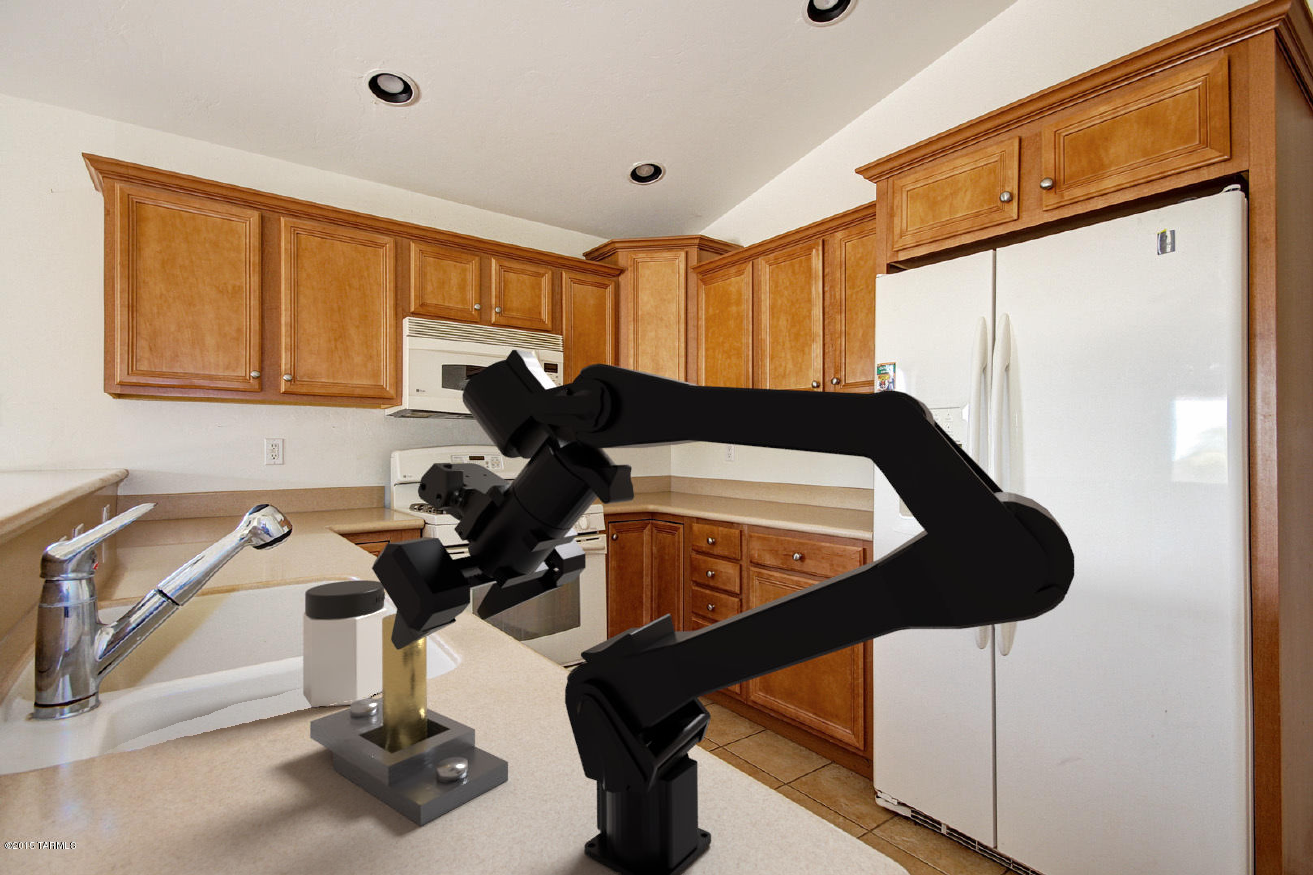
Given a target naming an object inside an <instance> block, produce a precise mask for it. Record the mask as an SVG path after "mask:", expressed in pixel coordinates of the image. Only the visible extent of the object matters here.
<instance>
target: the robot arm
mask: <svg viewBox="0 0 1313 875" xmlns="http://www.w3.org/2000/svg"><path fill="white" fill-rule="evenodd" d="M462 402H463V404H464V406H465V408H466V409H467V410H468V412H469V413H470V414H471V416H472V417H473V418H474V420H476V422H477V424H478V425H479V427H481V428H482V430H483V432H485V434H486V436H488V438H489V439H490V441H491V442H492V444H494V446H495V448H497V450H498V451H499V453H501V455H502V456H504V458H508V459H516V458H522V459H525V460H528V459H529V460H528V461H527V463H525V465H524V466H523V468H522V469H521V471H519V473H518V474H517V476H515V478H514V479H513V481H512V482H511V483H510V481H508V480H506V479H505V478H503V477H501V476H499V475H498V474H497V473H495V472H493V471H492V470H490V469H488V468H487V467H485V466H484V465H481V464H477V463H473V462H465V463H463V462H462V463H451V462H435V463H433V464H432V465H431V466H430V467H429V468H428V469H427V470H426V471H425V472H424V474H422V476H421V478H420V482H419V485H418V489H417V493H418V497H419V499H421V500H422V501H423V502H425V504H428V505H429V506H430V507H432V508H433V509H435V510H443V511H444V512H445V513H447V514H448V515H449V516H451V517H453V518H454V519H455V520H457V521H459V522H458V523H457V525H456V526H455V527H454V528H453V530H454V531H455V533H456V535H457V536H459V539H460V540H461V541H467V543H468V544H469V545H468V546H467V552H468V554H469V555H466V556H464V557H463V556H462V557H458V558H453V557H452V555H450V553H449V551H448V549H446V547H445V546H444V544H443V542H441V540H440V538H439V537H428V536H426V537H425V536H424V537H423V536H422V537H419V538H412V539H406V540H400V541H393V542H388V543H386V545H385V546H384V548H383V549H382V551H381V552H380V553H379V554H378V556H377V557H376V558H375V560H374V562H373V564H372V567H371V569H372V571H373V573H374V574H375V576H376V578H377V579H378V580H379V581H378V582H381V584H382V585H383V587H384V591H385V593H387V595H388V597H389V599H390V600H391V601H392V603H393V605H394V606H395V608H396V611H395V612H396V613H395V614H396V617H395V622H394V626H393V631H392V636H391V641H392V643H393V644H394V646H395V648H396V649H397V650H399V649H402V648H404V647H406V646H408V645H411V644H413V643H415V642H417V641H419V640H421V639H423V638H424V637H426V636H427V637H428V636H431V635H432V634H434V633H437V632H439V631H440V630H442V629H444V628H446V627H448V626H450V625H452V624H454V623H456V622H457V619H456V618H457V617H458V616H459V615H461V614H462V613H463V612H464V611H465V610H466V609H467V607H469V605H470V604H471V591H472V590H474V589H479V588H482V587H485V586H489V585H491V586H490V587H489V589H488V591H487V592H486V594H485V595H484V597H483V598H482V601H481V603H480V604H479V606H478V608H477V609H476V613H477V615H478V617H479V618H480V619H481V620H482V621H486V620H488V619H490V618H493V617H495V616H497V615H499V614H501V613H503V612H506V611H508V610H511V609H513V608H515V607H517V606H520V605H522V604H525V603H527V602H529V601H531V600H533V599H536V598H538V597H540V596H543V595H546V594H547V593H550V592H552V591H554V590H558V589H559V588H562V587H563V585H565V584H569V583H571V582H575V580H576V579H578V577H579V576H580V575H581V573H582V572H584V570H585V569H586V552H585V551H584V549H583V548H582V547H581V546H580V544H579V543H578V542H577V541H576V539H575V538H576V537H577V536H578V535H579V534H578V532H576V530H575V529H574V526H575V525H576V523H577V522H578V521H579V520H580V519H581V517H582V516H583V515H584V514H585V513H586V512H587V511H588V509H590V507H591V506H592V505H593V504H594V502H595V501H596V500H597V499H599V501H601V503H603V504H604V505H610V504H618V503H627V502H632V501H633V500H634V498H635V492H634V485H633V482H632V476H631V475H632V466H631V464H617V463H615V461H614V460H613V459H612V458H611V457H610V456H609V454H608V453H607V452H606V450H604V449H645V448H647V449H648V448H657V447H665V446H666V447H667V446H676V445H684V444H691V443H698V442H699V443H700V442H701V443H702V442H704V443H711V444H712V443H713V444H725V445H734V446H735V445H736V446H746V447H757V448H766V449H777V450H785V451H786V450H787V451H797V452H809V453H817V454H818V453H820V454H830V455H840V456H841V455H842V456H849V457H850V456H851V457H863V458H866V459H870V460H871V461H872V463H874V465H875V466H876V467H877V468H878V469H879V471H880V472H881V473H882V474H883V476H884V477H885V479H887V481H888V483H889V484H890V485H891V487H892V488H893V489H894V491H895V493H896V494H897V495H898V497H899V498H900V499H901V501H902V503H904V506H906V508H907V509H908V510H909V512H910V513H911V515H912V516H913V518H914V519H915V520H916V521H917V523H918V524H919V525H920V526H921V527H922V529H923V531H921V532H919V533H918V534H916V535H914V536H913V537H911V538H910V539H909V540H906V541H905V542H904V543H902V544H900V545H899V546H898V547H896V548H895V549H893V550H892V551H890V552H889V553H887V554H885V555H883V556H882V557H881V558H878V559H876V560H874V561H871V562H868V563H866V564H864V565H861V566H859V567H856V568H853V569H851V570H848V571H846V572H843V573H841V574H838V575H836V576H833V577H831V578H828V579H825V580H823V581H819V582H817V583H816V584H812V585H809V586H808V587H805V588H802V589H799V590H797V591H794V592H792V593H790V594H789V593H788V594H787V595H784V596H782V597H779V598H776V599H774V600H771V601H768V602H766V603H763V604H761V605H759V606H756V607H754V608H751V609H749V610H745V611H743V612H741V613H738V614H735V615H733V616H730V617H728V618H726V619H723V620H721V621H717V622H715V623H713V624H710V625H708V626H704V627H702V628H700V629H697V630H691V631H685V630H683V631H676V630H675V626H674V623H673V619H672V615H671V613H666V614H665V615H663V616H661V617H659V618H657V619H655V620H653V621H650V622H649V623H647V624H645V625H643V626H641V627H631V628H629V629H627V630H625V631H623V632H621V633H619V634H617V635H615V636H612V637H610V638H608V639H606V640H604V641H602V642H600V643H598V644H596V645H594V646H592V647H589V648H588V649H586V650H584V651H582V652H581V653H580V657H581V658H582V659H583V660H584V661H583V662H582V663H580V664H578V665H577V666H575V667H574V668H573V669H572V670H571V671H570V672H569V673H568V675H567V676H566V680H567V682H566V685H565V688H564V696H565V697H564V704H565V709H566V711H567V712H566V713H567V716H568V720H569V724H570V728H571V730H572V734H573V735H572V736H573V737H574V742H575V745H576V748H577V752H578V755H579V759H580V763H581V766H582V769H583V772H584V773H583V774H584V776H585V777H586V778H587V779H589V780H592V781H596V828H597V830H598V831H599V833H598V834H596V835H594V837H592V838H591V839H590V840H588V841H587V842H585V844H584V847H583V848H584V855H586V856H588V857H589V858H591V859H592V860H595V861H597V862H598V863H600V864H602V865H604V866H606V867H607V868H609V869H611V870H613V871H615V872H617V873H619V874H621V875H678V874H680V873H681V872H682V871H683V870H684V869H685V868H686V867H687V866H688V865H689V864H690V863H692V861H693V860H695V859H696V858H697V857H698V856H699V855H700V854H701V853H702V852H703V851H704V850H706V848H708V847H709V846H710V845H711V844H712V834H711V832H709V831H707V830H705V829H703V828H701V827H699V788H698V787H699V786H698V785H699V784H698V782H699V780H698V778H699V777H698V776H699V774H698V773H699V772H698V771H699V770H698V764H699V763H698V761H697V760H696V759H693V758H690V755H689V751H690V750H692V748H694V747H695V746H696V745H697V744H699V743H701V742H702V741H704V739H705V738H706V737H705V736H706V733H707V730H708V728H709V725H710V722H711V719H712V718H711V713H710V712H709V710H708V709H707V707H706V706H704V704H703V703H702V702H701V700H700V699H699V698H700V697H703V696H706V695H708V694H713V693H715V692H718V691H721V690H724V689H728V688H730V687H733V686H736V685H739V684H742V683H746V682H748V681H750V680H751V681H752V680H754V679H756V678H760V677H763V676H766V675H770V674H772V673H775V672H778V671H781V670H784V669H787V668H791V667H794V666H795V665H799V664H802V663H805V662H808V661H811V660H814V659H818V658H820V657H823V656H826V655H829V654H832V653H836V652H838V651H841V650H844V649H847V648H850V647H853V646H857V645H859V644H863V643H865V642H869V641H871V640H874V639H878V638H881V637H883V636H887V635H890V634H892V633H895V632H901V631H906V630H964V629H971V628H979V627H987V626H992V625H1001V624H1007V623H1008V624H1009V623H1015V622H1023V621H1028V620H1032V619H1037V618H1039V617H1041V616H1042V615H1044V614H1047V613H1048V612H1050V611H1052V610H1054V609H1055V608H1057V607H1058V606H1059V605H1060V604H1061V603H1062V602H1063V601H1064V600H1065V598H1066V595H1068V592H1069V589H1070V587H1071V585H1072V582H1073V580H1074V578H1075V553H1074V552H1073V549H1072V546H1071V542H1070V540H1069V538H1068V536H1067V535H1066V533H1065V531H1064V530H1063V528H1062V527H1061V525H1060V523H1059V522H1058V521H1057V519H1056V518H1055V517H1054V516H1053V514H1052V513H1051V511H1049V509H1047V508H1046V507H1045V506H1043V505H1042V504H1040V503H1039V502H1037V501H1036V500H1034V499H1033V498H1030V497H1028V496H1027V497H1026V496H1023V495H1021V494H1018V493H1014V492H1008V491H1004V490H1003V489H1002V488H1001V487H1000V486H999V485H998V484H997V483H996V482H995V481H994V480H993V478H991V476H989V474H988V473H987V472H986V471H985V470H984V469H983V468H982V467H981V466H980V465H979V464H978V463H977V462H976V461H975V460H974V459H973V458H972V457H971V456H970V455H969V454H968V452H966V451H965V450H964V449H963V448H962V446H960V445H959V443H957V441H955V440H954V439H953V438H952V437H951V436H950V435H949V434H948V433H947V432H946V431H945V429H944V428H943V427H942V426H941V425H940V424H939V423H938V422H937V421H936V420H935V418H934V415H933V413H932V412H931V410H930V408H929V407H928V406H927V404H925V403H924V402H923V401H921V400H920V399H917V398H916V397H915V396H912V395H911V394H908V393H906V392H902V391H899V390H892V389H887V390H881V391H876V392H871V393H870V392H869V393H866V392H864V393H863V392H845V391H844V392H841V391H821V390H820V391H819V390H802V389H801V390H800V389H779V388H777V389H776V388H760V387H759V388H756V387H735V386H734V387H733V386H714V385H713V386H712V385H709V386H708V385H698V384H694V383H691V382H687V381H683V380H681V379H675V378H672V377H667V376H664V375H659V374H655V373H652V372H646V371H641V370H635V369H630V368H626V367H621V366H617V365H611V364H607V363H606V364H605V363H593V364H589V365H587V366H585V367H583V368H581V369H580V371H579V374H578V375H577V376H576V377H575V378H574V379H573V381H572V382H569V383H566V384H561V385H559V386H558V385H556V384H555V382H554V381H553V380H552V379H551V378H550V376H548V375H547V373H546V372H545V370H544V369H543V368H542V365H541V364H540V361H538V359H537V358H536V357H535V355H534V354H533V353H532V352H531V351H525V350H524V351H523V350H520V349H519V350H518V349H512V350H511V351H510V353H509V354H508V355H507V357H506V358H505V359H502V360H499V361H496V362H494V363H492V364H490V365H488V366H486V367H485V368H484V369H482V370H480V372H478V373H477V374H476V375H472V376H471V377H470V379H469V380H468V381H467V383H466V385H465V387H464V389H463V391H462Z"/></svg>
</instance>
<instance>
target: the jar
mask: <svg viewBox="0 0 1313 875" xmlns="http://www.w3.org/2000/svg"><path fill="white" fill-rule="evenodd" d="M304 596H305V597H304V599H305V600H304V603H305V604H304V606H305V608H304V609H305V610H304V612H303V613H302V615H303V616H302V617H303V618H302V620H303V622H302V624H303V626H302V627H303V632H302V636H303V640H302V641H303V642H302V646H303V647H302V648H303V649H302V650H303V652H302V656H303V657H302V658H303V659H302V661H303V663H302V664H303V666H302V669H303V671H302V672H303V673H302V675H303V677H302V678H303V679H302V680H303V681H302V682H303V683H302V684H303V685H302V688H303V691H302V692H303V696H304V697H305V699H306V700H307V702H308V703H309V705H310V706H311V708H320V707H319V706H326V707H339V706H350V705H351V704H352V703H353V702H355V701H358V700H361V699H367V698H371V697H369V696H368V695H373V694H376V695H378V694H381V693H382V619H383V618H384V617H386V616H388V609H387V608H386V607H385V599H386V591H385V589H384V587H383V585H382V584H381V582H380V581H377V580H364V579H363V580H362V579H361V580H347V581H346V580H345V581H336V582H329V583H324V584H320V585H316V586H313V587H310V588H308V589H307V590H306V591H305V593H304ZM377 693H378V694H377ZM363 697H366V698H363ZM350 700H353V701H350ZM344 701H348V702H344ZM334 703H337V704H334ZM330 704H334V705H330ZM328 705H330V706H328ZM326 707H325V708H326Z"/></svg>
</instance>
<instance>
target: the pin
mask: <svg viewBox="0 0 1313 875" xmlns="http://www.w3.org/2000/svg"><path fill="white" fill-rule="evenodd" d="M395 617H396V613H393V614H392V613H391V614H389V615H388V614H387V616H386V617H384V618H383V619H382V692H381V693H382V695H381V696H382V697H381V698H382V722H383V749H384V750H386V751H388V752H390V753H394V752H397V751H399V750H402V749H404V748H406V747H409V746H411V745H414V744H416V743H418V742H421V741H423V740H426V739H427V709H428V706H427V705H428V689H427V688H428V684H427V683H428V681H427V680H428V679H427V678H428V677H427V676H428V666H427V664H428V662H427V659H428V657H427V654H428V653H427V652H428V651H427V644H428V643H427V642H428V640H427V637H428V636H426V637H424V638H423V639H421V640H419V641H417V642H415V643H413V644H411V645H408V646H406V647H404V648H402V649H399V650H397V649H396V648H395V646H394V644H393V643H392V641H391V636H392V631H393V626H394V622H395Z"/></svg>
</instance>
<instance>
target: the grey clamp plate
mask: <svg viewBox="0 0 1313 875" xmlns="http://www.w3.org/2000/svg"><path fill="white" fill-rule="evenodd" d="M309 723H310V725H309V726H310V727H309V728H310V729H309V730H310V731H309V733H310V734H309V736H310V737H309V738H310V739H311V740H313V741H314V742H316V743H318V744H319V745H321V746H323V747H324V748H326V749H328V750H329V751H331V752H332V753H333V771H335V772H336V773H337V774H340V775H341V776H343V777H344V778H346V779H347V780H349V781H351V782H352V783H353V784H355V785H357V786H358V787H360V788H361V789H363V790H364V791H366V792H368V793H369V794H371V795H372V796H373V797H376V798H377V799H378V800H379V801H380V802H383V803H385V804H386V805H387V806H389V807H390V808H392V809H394V810H395V811H396V812H398V813H399V814H401V815H402V816H404V817H405V818H408V819H409V820H410V821H412V822H413V823H415V824H416V825H418V826H420V827H422V826H424V825H426V824H427V823H429V822H432V821H433V820H436V819H438V818H439V817H441V816H443V815H445V814H446V813H449V812H451V811H452V810H454V809H456V808H458V807H460V806H461V805H464V804H465V803H467V802H469V801H471V800H473V799H475V798H477V797H478V796H481V795H483V794H484V793H486V792H488V791H490V790H492V789H494V788H496V787H498V786H500V785H501V784H504V783H505V782H507V781H509V761H507V760H505V759H503V758H501V757H499V756H497V755H494V754H493V753H491V752H487V751H486V750H483V749H481V748H480V747H477V746H476V729H475V728H473V727H470V726H468V725H466V724H464V723H462V722H460V721H457V720H455V719H452V718H450V717H448V716H446V715H443V714H442V713H439V712H437V711H434V710H432V709H429V708H427V739H426V740H423V741H421V742H418V743H416V744H414V745H411V746H409V747H406V748H404V749H402V750H399V751H397V752H394V753H390V752H388V751H386V750H384V749H383V722H382V697H379V698H374V697H373V698H372V697H370V698H367V699H361V700H358V701H355V702H353V703H352V704H351V705H349V707H348V708H346V709H343V710H340V711H337V712H334V713H331V714H327V715H326V716H323V717H319V718H316V719H313V720H311V721H310V722H309Z"/></svg>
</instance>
